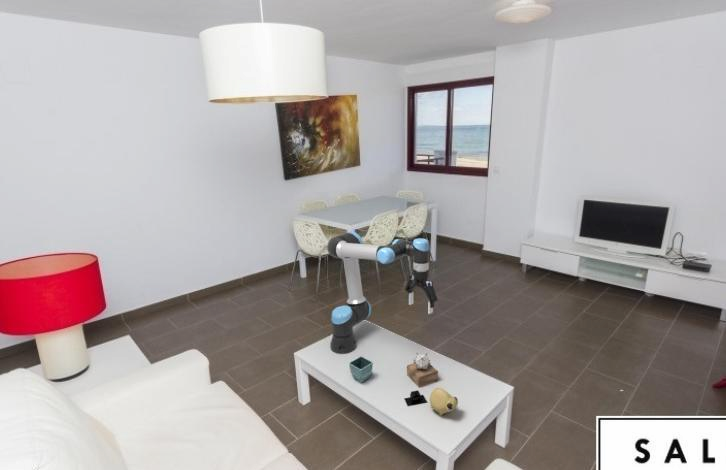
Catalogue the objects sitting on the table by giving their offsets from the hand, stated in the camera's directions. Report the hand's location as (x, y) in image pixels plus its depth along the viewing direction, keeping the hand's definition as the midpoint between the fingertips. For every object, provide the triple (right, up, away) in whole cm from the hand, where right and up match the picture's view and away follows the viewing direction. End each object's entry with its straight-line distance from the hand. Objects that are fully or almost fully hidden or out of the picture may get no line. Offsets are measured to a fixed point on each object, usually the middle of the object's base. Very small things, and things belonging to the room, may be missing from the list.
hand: (420, 308), depth 195 cm
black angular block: (-5, -39, -20) cm, 44 cm away
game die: (0, -29, -6) cm, 30 cm away
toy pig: (+6, -40, -27) cm, 49 cm away
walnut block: (0, -34, -4) cm, 35 cm away
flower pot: (-30, -35, -3) cm, 46 cm away
